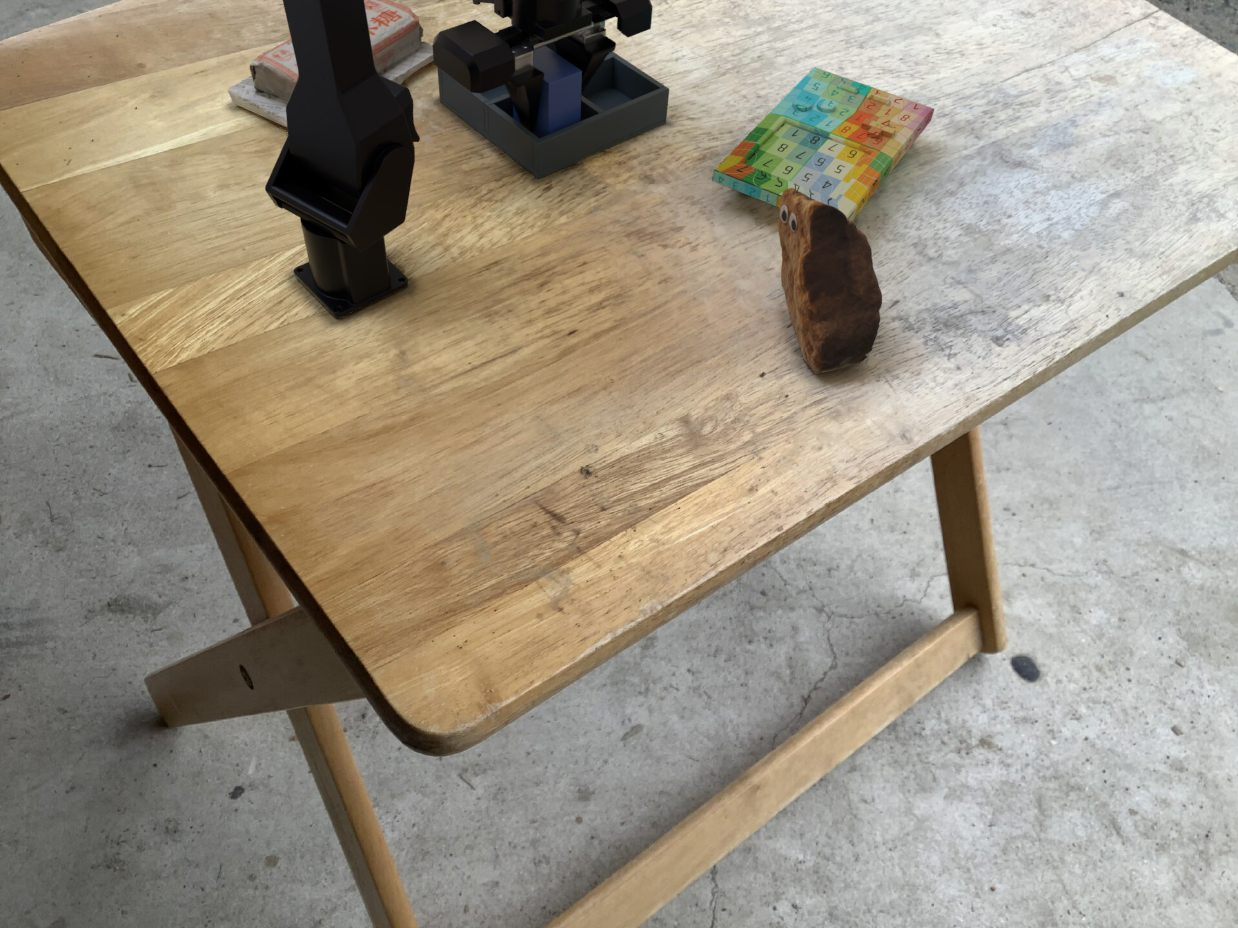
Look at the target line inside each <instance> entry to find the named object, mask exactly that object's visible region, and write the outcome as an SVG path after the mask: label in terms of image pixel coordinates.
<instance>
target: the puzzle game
mask: <svg viewBox="0 0 1238 928" xmlns="http://www.w3.org/2000/svg"><path fill="white" fill-rule="evenodd" d="M934 113H935V108H933V107H931V106H928V105H925V104H922V103H919V102H916V101H913V100H911V99H908V98H905V97H902V96H899V95H896V94H894V93H891V92H887V91H886V90H881V89H879V88H876V87H873V86H870V85H867V84H864V83H862V82H859V81H856V80H854V79H850V78H848V77H844V76H841V75H839V74H836V73H833V72H831V71H827V70H825V69H823V68H819V67H812V68H811V69H810V70H809V71H808V72H807V73H806V75H804V76H803V78H801V80H799V82H798V83H797V84H796V85H795V86H794V87H793V88H792V89H791V90H789V92H788V93H787V94H786V95H785V96H784V97H783V98H782V99H781V100H780V101H779V102H778V104H776V105H775V106H774V108H772V109H771V111H769V112H768V114H767V115H765V117H764V118H763V119H762V120H761V121H760V122H759V123H758V124H757V125H756V126H755V127H753V129H752V130H751V131H750V132H749V133H748V134H747V135H746V136H745V137H744V138H743V139H742V141H741V142H739V144H737V146H736V147H735V148H734V149H733V150H732V151H731V152H730V153H729V154H728V155H726V157H725V158H724V159H723V160H722V161H721V162H720V163H719V164H718V165H717V167H715V168H714V169H713V171H712V178H711V181H712V182H713V183H716V184H719V185H721V186H724V187H727V188H729V189H730V190H731V189H732V190H733V191H736V192H739V193H741V194H744V195H747V196H750V197H751V198H754V199H756V200H759V201H762V202H764V203H767V204H770V205H772V206H774V207H777V208H779V209H780V203H781V197H782V193H783V191H784V190H786V189H789V188H794V189H795V190H797V191H799V192H801V193H803V194H805V195H806V196H808V197H809V198H811V199H812V200H815V201H818V202H821V203H824V204H827V205H830V206H833V207H835V208H837V209H839V210H840V211H841V212H843V213H844V214H845V215H846V217H847V218H848V219H849V220H852V221H853V222H854V220H855V218H856V217H857V216H858V215H859V213H860V212H861V211H862V209H863V208H864V207H865V206H866V204H867V203H868V201H869V200H870V199H871V198H872V196H873V195H874V194H875V192H876V191H877V190H878V189H879V188H880V186H881V185H882V184H883V183H884V181H885V180H886V178H888V176H889V175H890V173H891V172H893V170H894V168H895V167H896V166H897V165H898V164H899V162H900V161H901V160H902V158H903V157H904V156H905V154H906V153H907V152H908V151H909V149H910V148H911V147H912V146H913V144H914V143H915V142H916V141H917V140H918V138H919V136H920V135H921V134H922V133H923V132H924V130H925V129H926V128H927V127H928V126H929V124H930V123H931V122H932V118H933V115H934Z"/></svg>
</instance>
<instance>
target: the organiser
mask: <svg viewBox="0 0 1238 928" xmlns="http://www.w3.org/2000/svg"><path fill="white" fill-rule="evenodd" d="M543 46H546V47H548V48H549V49H551V50H552V51H554V52H555V53H556V54H557V52H556V48H555V45H554V42H551V43H549V44H546V45H543ZM543 46H540V47H543ZM540 47H538V48H540ZM538 48H535V49H538ZM535 49H534V50H535ZM436 68H437V80H438V81H437V82H438V92H439V93H438V94H439V103H441V104H442V105H443V106H444V107H446V108H447V109H448V110H449V111H451V112H452V113H453V114H455V115H456V116H457V117H458V118H459V119H461V120H462V121H464V123H466V124H467V125H469V126H470V127H471V128H472V129H473V130H475V131H476V132H477V133H479V134H480V135H481V136H483V137H484V138H485V139H487V140H488V141H489V142H490V143H492V144H493V145H494V146H496V147H497V148H498V149H499V150H501V151H502V152H503V153H505V155H507V156H508V157H510V158H511V159H512V160H514V162H516V163H517V164H518V165H519V166H521V167H522V168H523V169H525V170H526V171H527V172H528V173H530V174H531V175H533V176H534V177H535V178H536V179H538V180H540V179H542V178H544V177H546V176H549V175H551V174H553V173H555V172H558V171H560V170H562V169H565V168H567V167H569V166H571V165H574V164H576V163H578V162H580V161H583V160H585V159H587V158H588V159H589V158H590V157H592V156H595V155H597V154H599V153H601V152H603V151H607V150H608V149H610V148H612V147H615V146H617V145H620V144H622V143H624V142H626V141H629V140H631V139H633V138H635V137H638V136H640V135H643V134H645V133H647V132H649V131H652V130H654V129H656V128H658V127H660V126H663V125H665V124H667V117H668V108H669V107H668V106H669V99H670V88H669V87H667V86H666V85H664V84H663V83H661V82H660V81H658V79H655V78H654V77H652V76H650V75H649V74H648V73H646V72H644V70H642V69H640V68H639V67H637V66H635V65H634V64H633V63H631V62H630V61H628V60H627V59H625V58H624V57H622V56H620V55H618V54H617V53H616V52H614V51H613V52H610V53H609V54H608V55H607V57H606V58H605V59H604V61H603V62H602V64H601V65H600V67H599V68H598V70H597V71H596V73H595V74H594V76H593V77H592V79H591V80H590V82H589V83H588V85H587V86H586V88H585V90H584V92H583V94H582V95H581V117H580V122H578V123H575V124H573V125H571V126H568V127H566V128H563V129H561V130H559V131H556V132H554V133H551V134H549V135H547V136H544V137H542V138H538V137H537V136H536V135H534V134H533V133H532V132H530V131H529V130H528V129H526V128H525V127H524V126H522V125H521V124H520V123H518V122H517V121H516V120H514V112H513V103H512V101H511V98H510V96H509V93H508V91H507V89H506V87H505V85H502V86H499V87H497V88H494V89H491V90H489V91H486V92H484V93H471V92H470V91H468V90H467V89H466V88H464V87H463V86H462V85H460V84H459V83H458V82H456V81H455V80H454V79H453V78H451V77H450V76H449V75H447V74H446V73H445V72H443V71H442V70H441V69H439V68H438V67H437V66H436Z"/></svg>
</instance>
